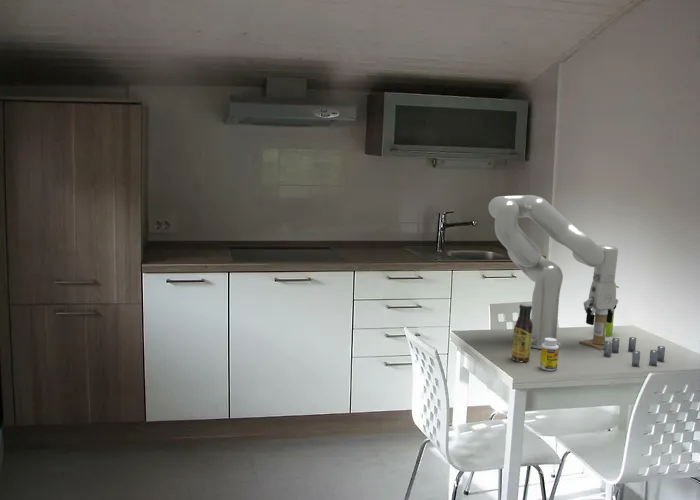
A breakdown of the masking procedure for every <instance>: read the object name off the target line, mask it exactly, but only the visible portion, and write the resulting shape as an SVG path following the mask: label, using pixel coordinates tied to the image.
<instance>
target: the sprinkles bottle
mask: <svg viewBox="0 0 700 500" xmlns="http://www.w3.org/2000/svg"><path fill="white" fill-rule="evenodd" d="M607 314H608V309H605V310H596V311H595V313H594V315H595V317H594V325H593V330H592V331H593V333H592V334H593V335H592V336H593V337H592V339H593V343H594V344H598V345H603V344H604V343H605V341H606V336H605V335H606V321H607Z"/></svg>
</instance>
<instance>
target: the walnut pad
mask: <svg viewBox="0 0 700 500" xmlns="http://www.w3.org/2000/svg"><path fill="white" fill-rule="evenodd" d="M606 341H607V342H609V341H608V340H605V342H606ZM579 344H581V345H583V346H584V345H585V346H587V347H590V348H593V349H596V350H598V351H604V344H603V345H598V344H594V343H593V338H592V339H586V340H580V341H579ZM611 349H612V346H611Z"/></svg>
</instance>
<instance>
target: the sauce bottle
mask: <svg viewBox="0 0 700 500" xmlns="http://www.w3.org/2000/svg"><path fill="white" fill-rule="evenodd" d="M531 312H532V303H531V304H530V303H523V302H522V303H520V304H519V314H518V318H517V320H516V322H515V325H514V327H513V335H512V344H511V345H512V346H511V347H512V348H511V359H512V358H513V359H514V361H515V360H518V361H517V362H519V361H526V362H529V361H530V357H531V348H532V347H531V342H532V329H533V323H532V321H531ZM513 359H512V360H513ZM528 360H529V361H528Z"/></svg>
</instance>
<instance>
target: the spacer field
mask: <svg viewBox="0 0 700 500" xmlns="http://www.w3.org/2000/svg"><path fill="white" fill-rule="evenodd" d="M605 341H606V342H605V343H604V350H603V357H606V358H610V357H611V354H612V353H613V354H618V353H619V350H620V338H618V337H612V341H608V340H605ZM607 341H608V342H607ZM636 343H637V338H636V337H633V336H629V338H628V348H627V352H628V353H629V352H630V353H632V355H631V356H632V358H631V366H632V367H634V368H639V367H640V360H641V351H639V350H636V348H637V347H636V345H637V344H636ZM611 346H612V348H611ZM665 353H666V347H665V346H663V345H658V346H657V349H656V350H655V349H650V352H649V359H648V360H649V361H648V364H649V366H651V367H657V365H658V362H661V363H664V361H665V355H666V354H665Z"/></svg>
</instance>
